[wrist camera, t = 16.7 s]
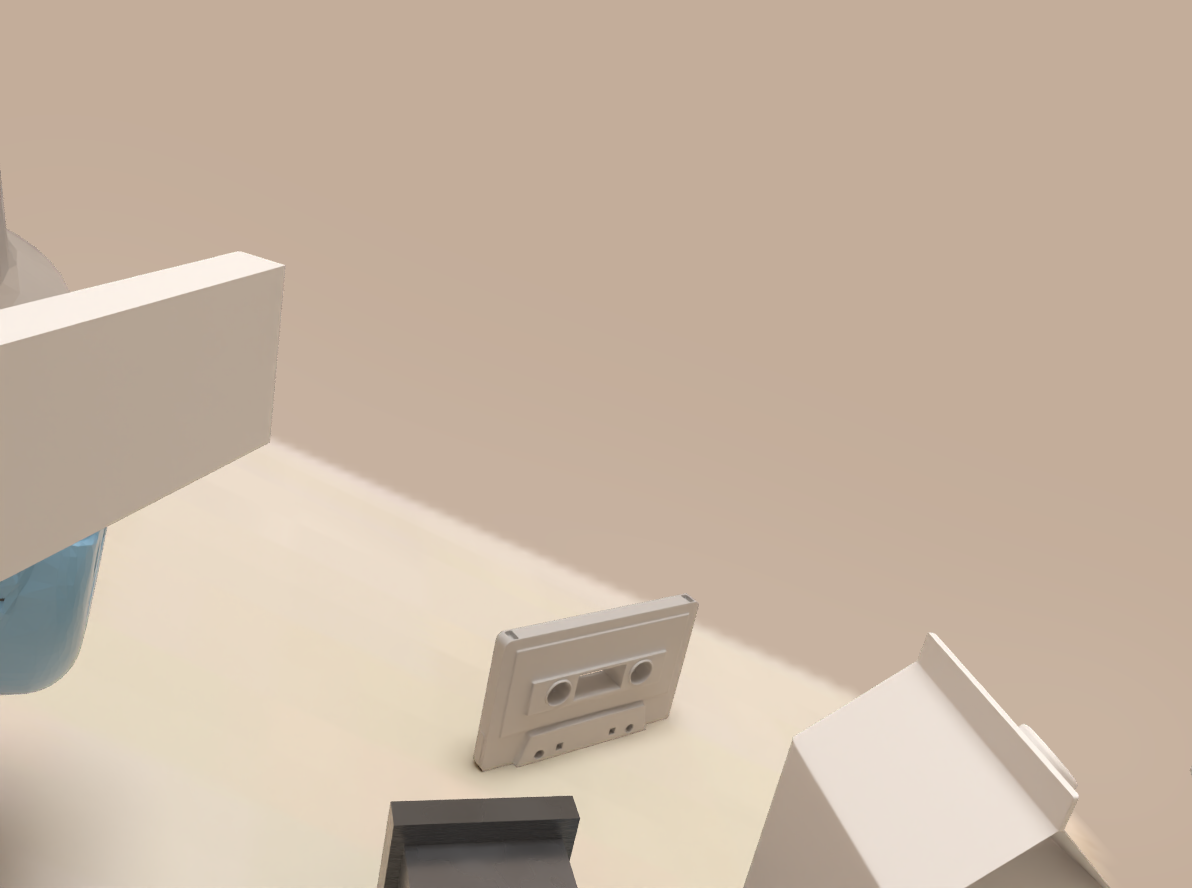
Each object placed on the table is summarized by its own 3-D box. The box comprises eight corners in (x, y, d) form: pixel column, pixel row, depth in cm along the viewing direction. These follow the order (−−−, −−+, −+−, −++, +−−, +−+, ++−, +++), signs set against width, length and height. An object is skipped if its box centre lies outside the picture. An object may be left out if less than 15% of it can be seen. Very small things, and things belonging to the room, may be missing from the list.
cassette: (484, 780, 52) (510, 648, 49) (466, 756, 53) (490, 626, 51) (674, 724, 59) (707, 605, 56) (654, 704, 61) (685, 587, 58)
